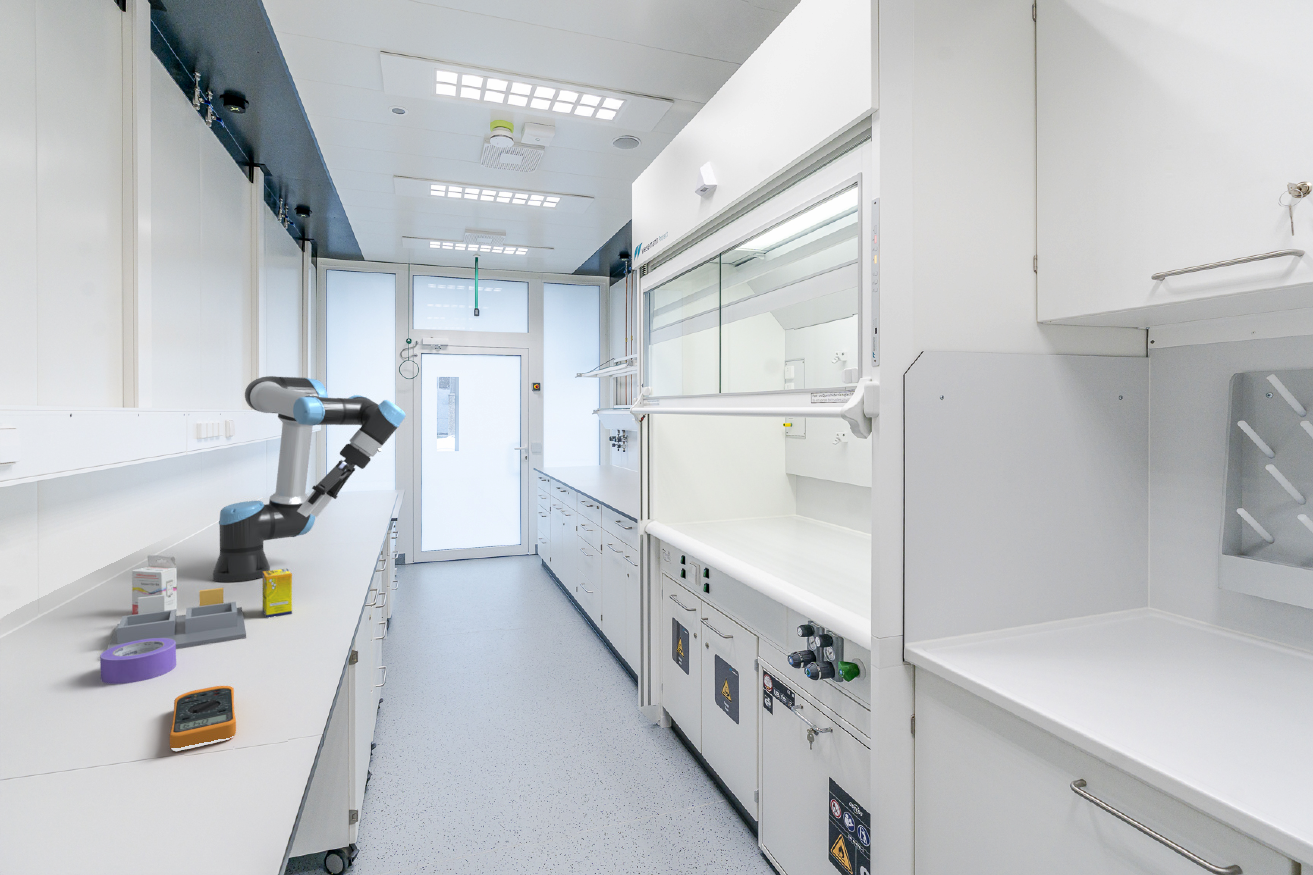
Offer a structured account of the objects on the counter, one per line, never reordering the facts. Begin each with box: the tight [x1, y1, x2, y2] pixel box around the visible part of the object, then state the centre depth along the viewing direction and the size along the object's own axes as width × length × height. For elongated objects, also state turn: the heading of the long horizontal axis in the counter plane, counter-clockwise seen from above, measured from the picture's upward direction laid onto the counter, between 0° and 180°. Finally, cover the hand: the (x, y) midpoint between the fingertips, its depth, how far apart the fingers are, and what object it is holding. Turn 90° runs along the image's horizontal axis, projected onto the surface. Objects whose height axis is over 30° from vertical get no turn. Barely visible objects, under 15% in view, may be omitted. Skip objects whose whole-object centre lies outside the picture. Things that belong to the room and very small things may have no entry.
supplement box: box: [262, 568, 293, 619], centre depth 165 cm, size 6×6×11 cm
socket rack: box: [106, 587, 247, 650], centre depth 149 cm, size 24×25×7 cm
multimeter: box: [169, 685, 237, 749], centre depth 106 cm, size 9×18×3 cm, turn 35°
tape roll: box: [99, 638, 177, 685], centre depth 127 cm, size 12×12×5 cm
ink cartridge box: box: [131, 554, 178, 615], centre depth 163 cm, size 9×5×15 cm, turn 84°
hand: (307, 514), depth 167 cm, fingers open, 13 cm apart
